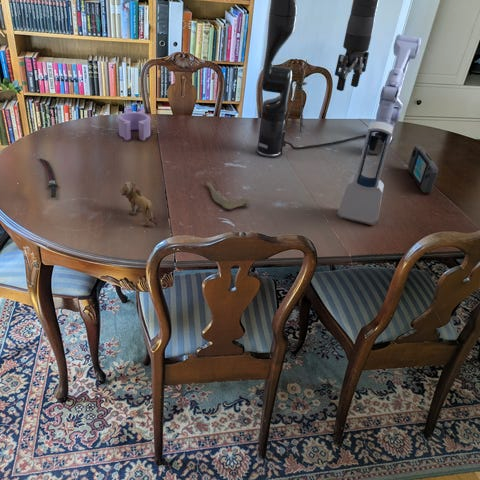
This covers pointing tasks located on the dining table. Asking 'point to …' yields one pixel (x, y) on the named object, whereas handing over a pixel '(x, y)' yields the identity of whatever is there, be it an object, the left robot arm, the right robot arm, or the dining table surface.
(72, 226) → the dining table surface
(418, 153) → the handheld gaming console
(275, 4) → the left robot arm
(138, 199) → the lion figurine
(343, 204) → the electronic device
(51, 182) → the sword
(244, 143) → the dining table surface
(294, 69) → the dark upright piece
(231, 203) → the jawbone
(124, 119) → the clip
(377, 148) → the gray block
